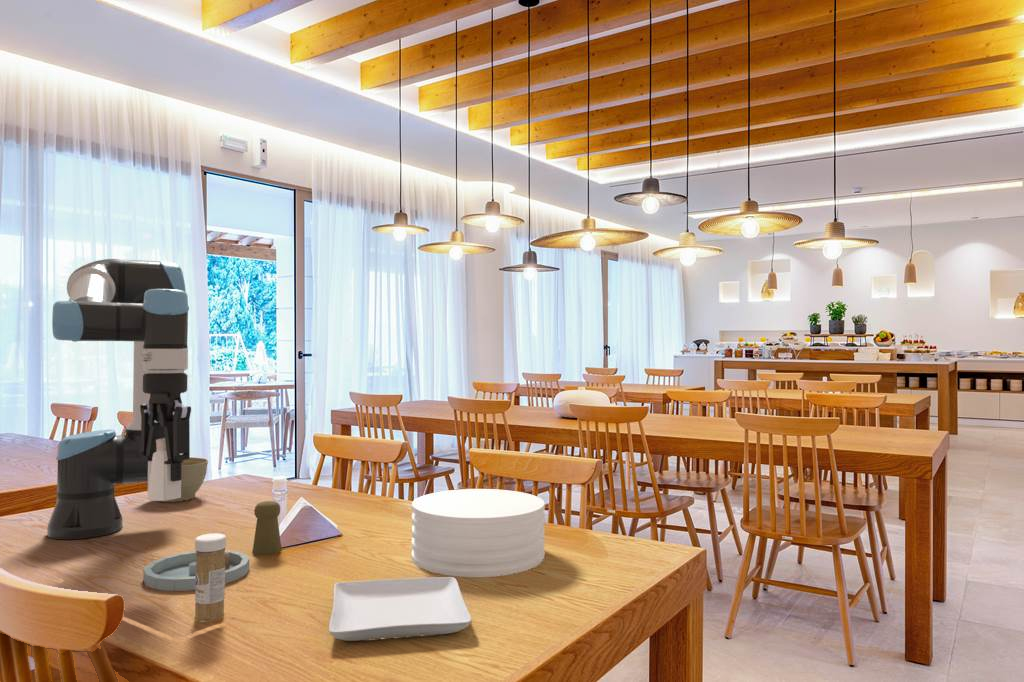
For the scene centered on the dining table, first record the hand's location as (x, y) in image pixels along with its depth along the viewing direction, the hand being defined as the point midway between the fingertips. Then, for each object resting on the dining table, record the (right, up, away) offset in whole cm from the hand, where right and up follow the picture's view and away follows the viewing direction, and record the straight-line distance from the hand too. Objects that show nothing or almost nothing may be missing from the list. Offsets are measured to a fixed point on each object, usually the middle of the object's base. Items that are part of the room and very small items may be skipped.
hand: (164, 496), depth 130 cm
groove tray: (+5, -16, +2) cm, 17 cm away
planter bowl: (-31, -17, +70) cm, 79 cm away
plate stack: (+58, -17, +18) cm, 63 cm away
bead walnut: (+9, -15, +1) cm, 18 cm away
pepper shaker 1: (0, 0, 0) cm, 0 cm away
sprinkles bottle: (+16, -16, -18) cm, 29 cm away
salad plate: (+46, -16, -17) cm, 52 cm away
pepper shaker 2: (+13, -16, +18) cm, 27 cm away
